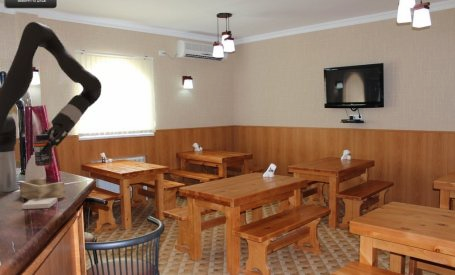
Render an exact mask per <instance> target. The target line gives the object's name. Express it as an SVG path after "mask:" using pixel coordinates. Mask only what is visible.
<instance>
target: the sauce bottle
mask: <svg viewBox="0 0 455 275" xmlns="http://www.w3.org/2000/svg"><path fill="white" fill-rule="evenodd" d="M41 178H46V179H47V173H46V168H45V166H36V164H35V154H34V153H33V154H32V155H30V158H29V160H28V161H27V163H26V168H25V174H24V179H25V181H29V180H35V179H41Z"/></svg>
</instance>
